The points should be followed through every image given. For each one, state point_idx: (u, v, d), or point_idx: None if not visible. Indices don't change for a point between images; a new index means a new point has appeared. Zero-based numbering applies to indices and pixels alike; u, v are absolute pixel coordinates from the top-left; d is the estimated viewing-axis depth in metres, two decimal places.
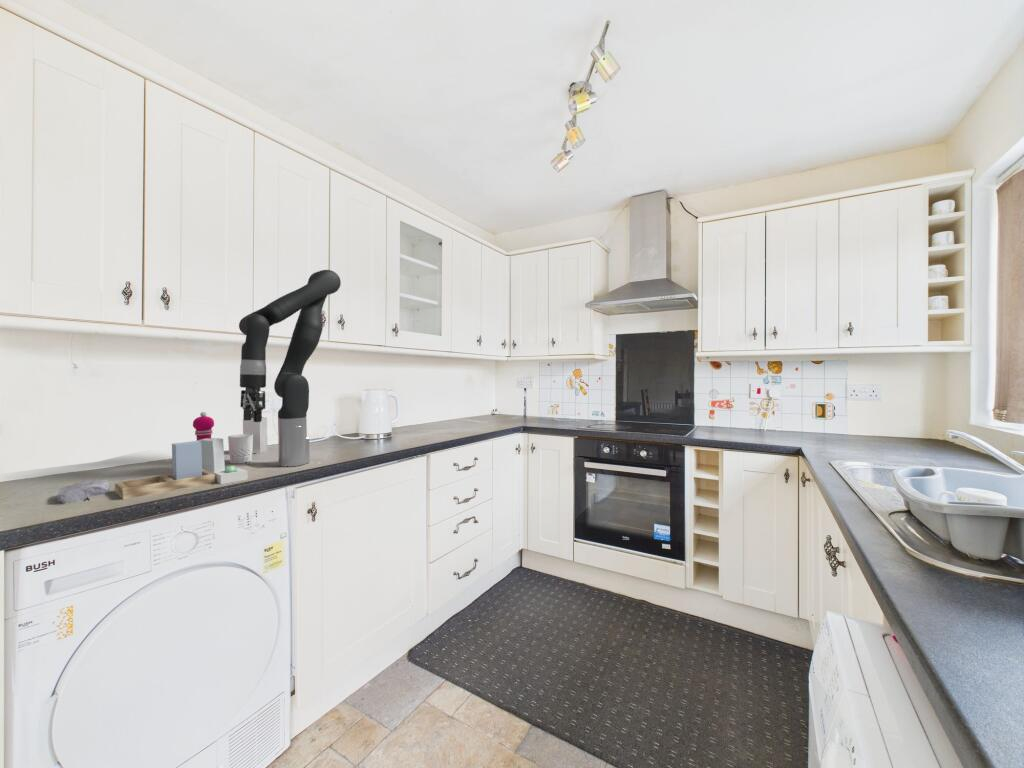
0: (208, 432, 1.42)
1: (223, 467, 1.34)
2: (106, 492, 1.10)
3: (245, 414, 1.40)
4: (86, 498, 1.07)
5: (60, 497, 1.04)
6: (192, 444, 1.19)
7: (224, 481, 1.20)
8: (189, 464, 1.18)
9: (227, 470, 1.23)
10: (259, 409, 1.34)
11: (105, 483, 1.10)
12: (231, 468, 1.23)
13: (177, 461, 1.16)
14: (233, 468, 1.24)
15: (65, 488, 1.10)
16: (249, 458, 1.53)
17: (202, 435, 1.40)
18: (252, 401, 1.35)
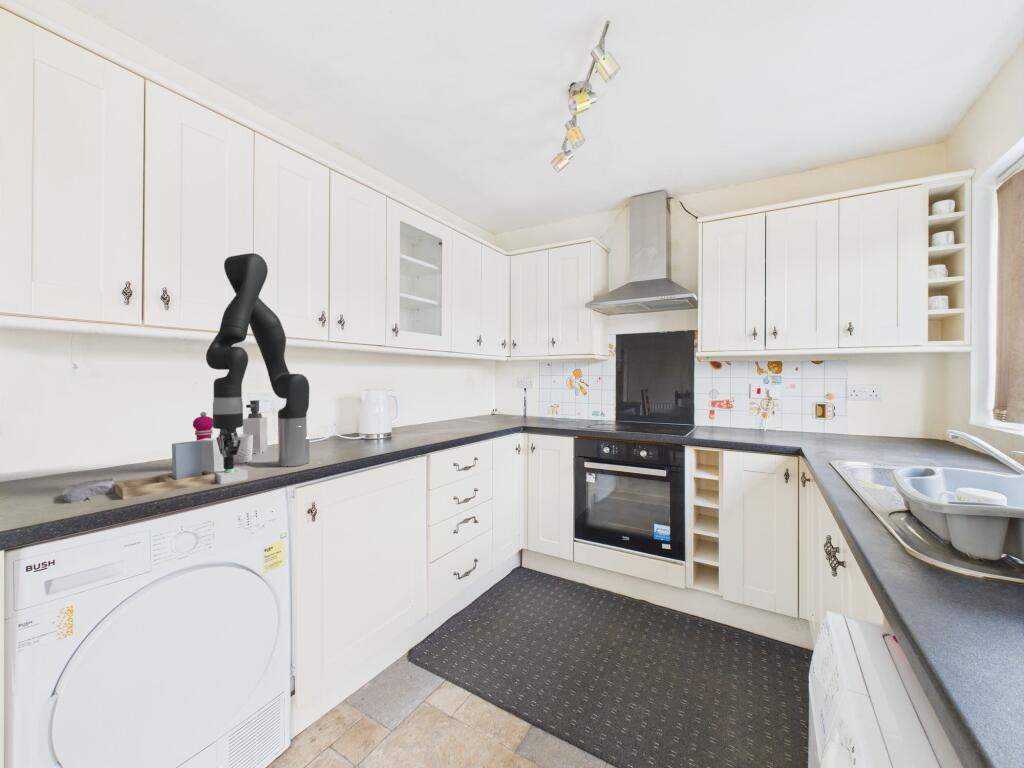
0: (208, 432, 1.42)
1: None
2: (112, 491, 1.10)
3: None
4: None
5: (67, 496, 1.05)
6: (192, 444, 1.19)
7: (224, 481, 1.20)
8: (189, 464, 1.18)
9: (227, 472, 1.23)
10: (230, 455, 1.22)
11: (111, 482, 1.11)
12: (231, 470, 1.23)
13: (177, 461, 1.16)
14: (233, 470, 1.24)
15: (71, 487, 1.11)
16: (249, 458, 1.53)
17: (202, 435, 1.40)
18: (224, 447, 1.21)
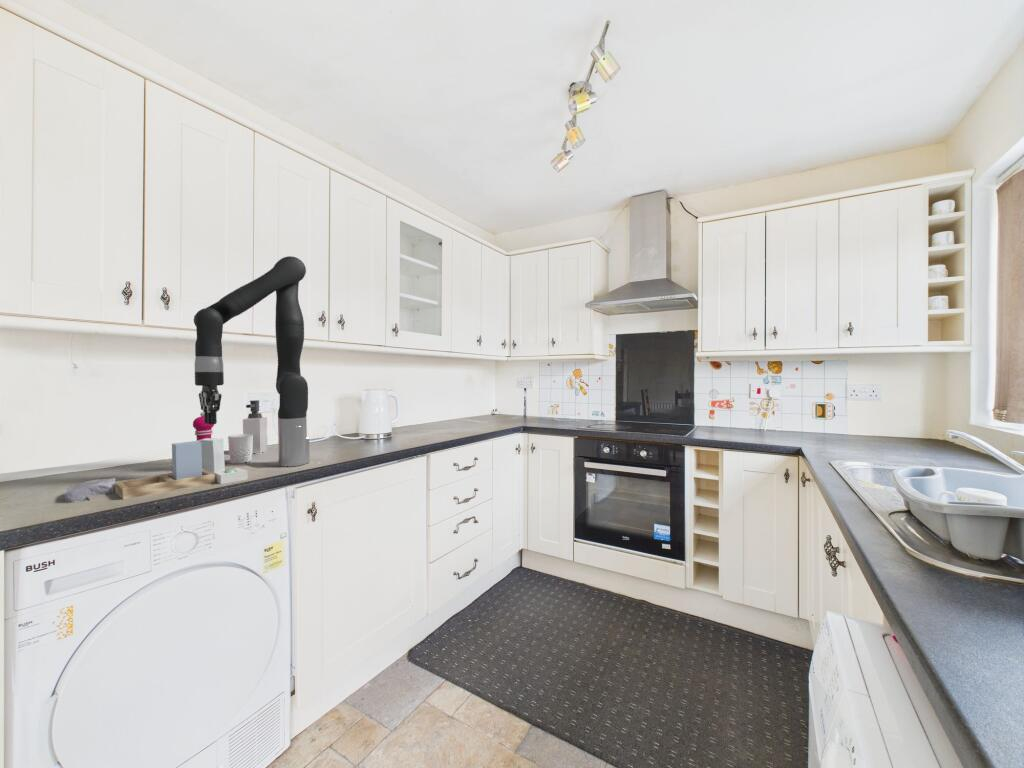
0: (208, 432, 1.42)
1: (223, 467, 1.34)
2: (112, 491, 1.10)
3: (206, 417, 1.32)
4: None
5: (67, 495, 1.05)
6: (192, 444, 1.19)
7: (224, 481, 1.20)
8: (189, 464, 1.18)
9: None
10: (213, 411, 1.30)
11: (111, 482, 1.11)
12: (231, 471, 1.23)
13: (177, 461, 1.16)
14: (233, 471, 1.24)
15: (74, 486, 1.11)
16: (249, 458, 1.53)
17: (202, 435, 1.40)
18: (207, 402, 1.29)
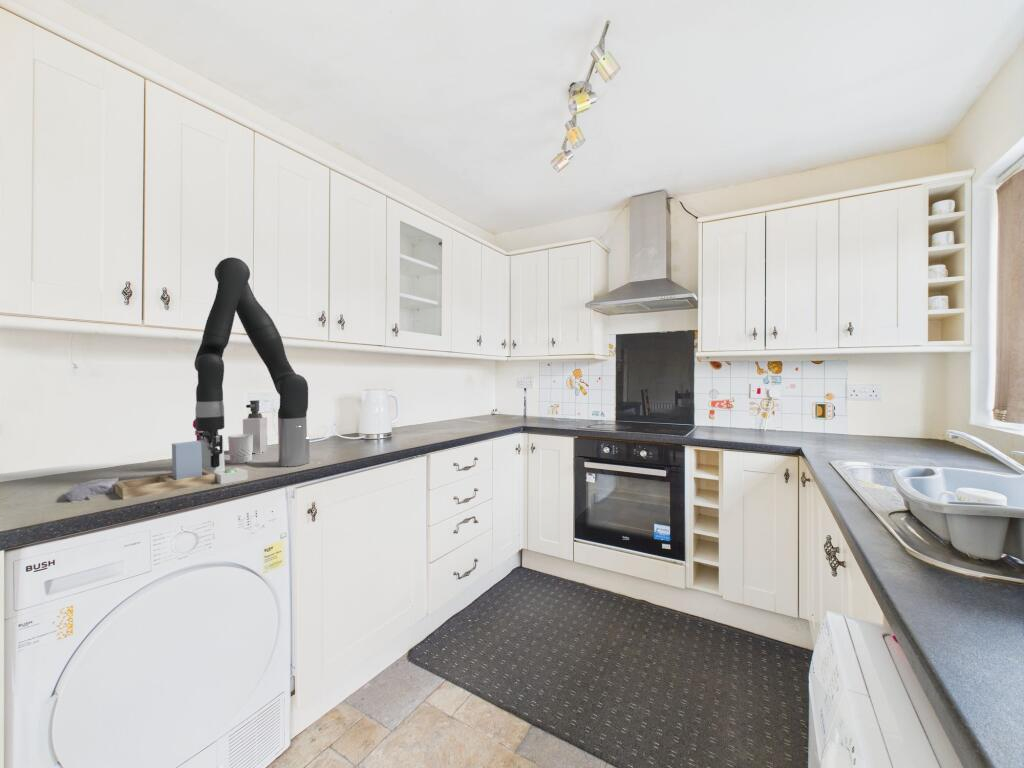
0: None
1: (223, 467, 1.34)
2: (111, 491, 1.10)
3: None
4: None
5: (67, 495, 1.06)
6: (192, 444, 1.19)
7: (224, 481, 1.20)
8: (189, 464, 1.18)
9: None
10: (216, 454, 1.29)
11: (111, 482, 1.11)
12: (231, 471, 1.23)
13: (177, 461, 1.16)
14: (233, 471, 1.24)
15: (77, 486, 1.12)
16: (249, 458, 1.53)
17: None
18: (209, 445, 1.29)
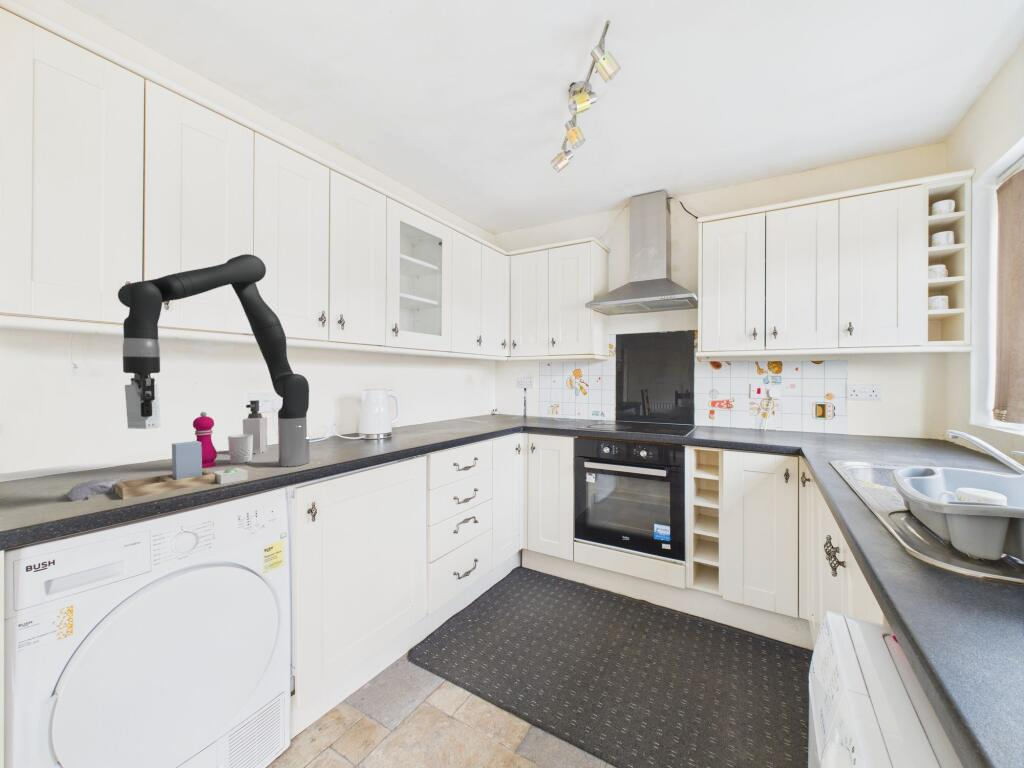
0: (208, 432, 1.42)
1: (157, 418, 1.13)
2: (112, 490, 1.11)
3: None
4: None
5: (68, 494, 1.06)
6: (192, 444, 1.19)
7: (224, 481, 1.20)
8: (189, 464, 1.18)
9: None
10: (146, 401, 1.08)
11: (112, 482, 1.12)
12: (231, 471, 1.23)
13: (177, 461, 1.16)
14: (233, 471, 1.24)
15: (80, 485, 1.13)
16: (249, 458, 1.53)
17: (202, 435, 1.40)
18: (138, 391, 1.08)
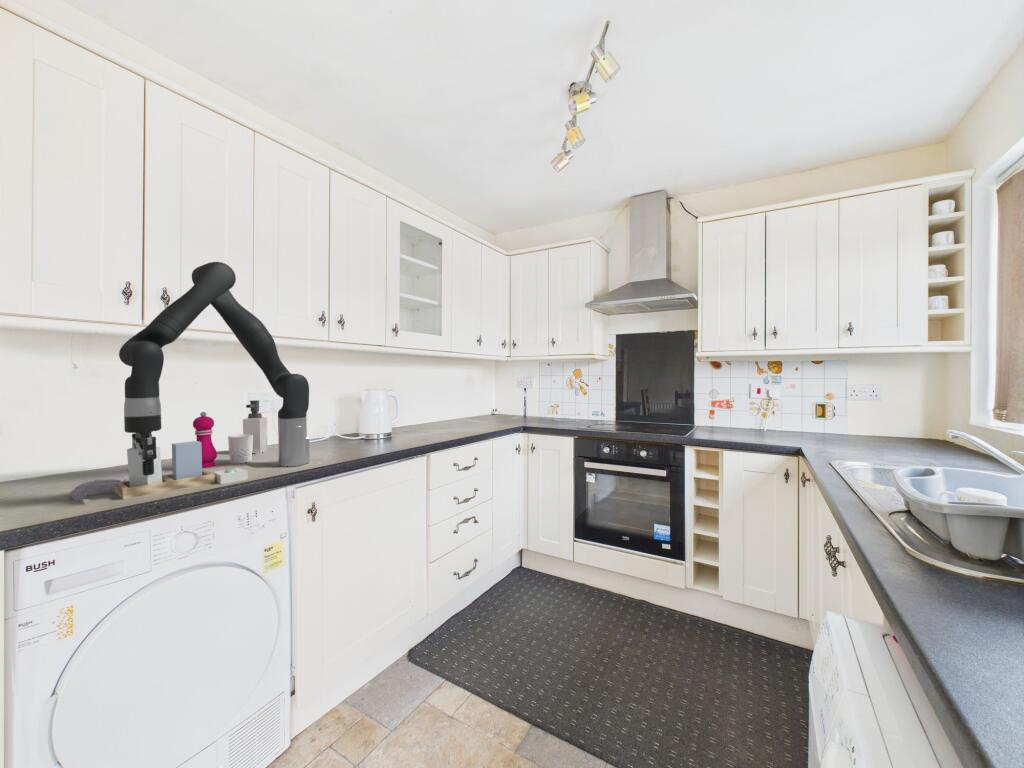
0: (208, 432, 1.42)
1: (160, 480, 1.13)
2: (113, 490, 1.11)
3: None
4: None
5: (71, 493, 1.07)
6: (192, 444, 1.19)
7: (224, 481, 1.20)
8: (189, 464, 1.18)
9: None
10: (148, 460, 1.08)
11: (114, 481, 1.12)
12: (231, 471, 1.23)
13: (177, 461, 1.16)
14: (233, 471, 1.24)
15: (85, 484, 1.14)
16: (249, 458, 1.53)
17: (202, 435, 1.40)
18: (140, 450, 1.08)
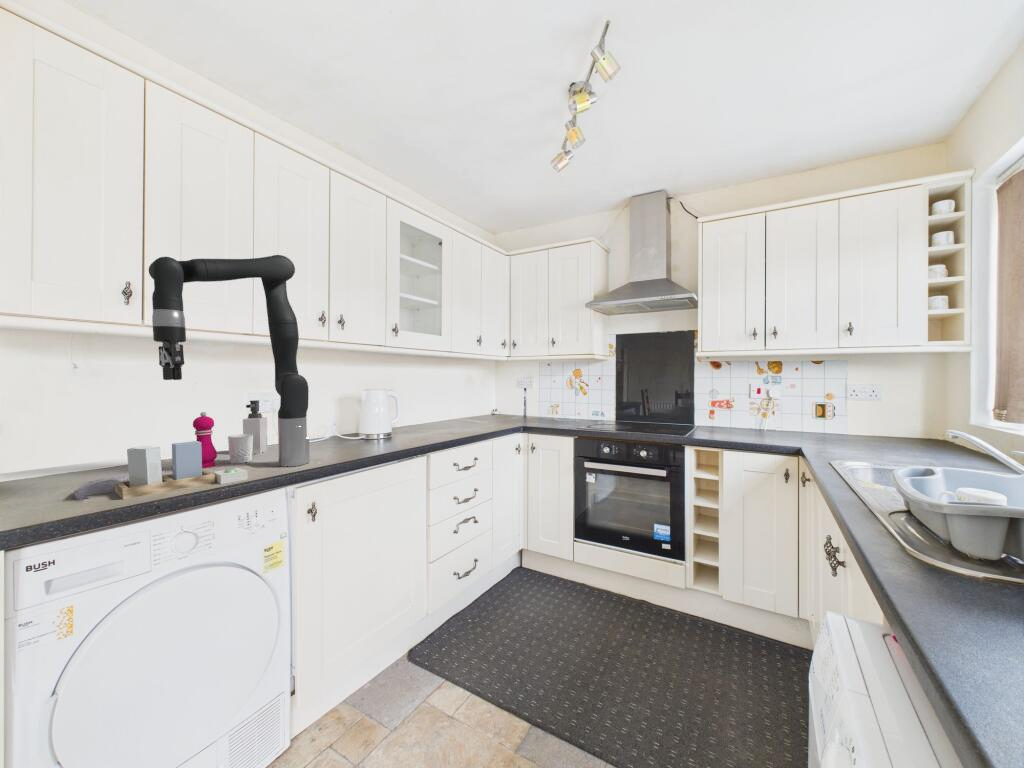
0: (208, 432, 1.42)
1: (160, 480, 1.13)
2: None
3: (165, 373, 1.24)
4: None
5: (74, 493, 1.08)
6: (192, 444, 1.19)
7: (224, 481, 1.20)
8: (189, 464, 1.18)
9: None
10: (177, 365, 1.19)
11: (117, 481, 1.13)
12: (231, 471, 1.23)
13: (177, 461, 1.16)
14: (233, 471, 1.24)
15: (87, 483, 1.14)
16: (249, 458, 1.53)
17: (202, 435, 1.40)
18: (168, 356, 1.19)
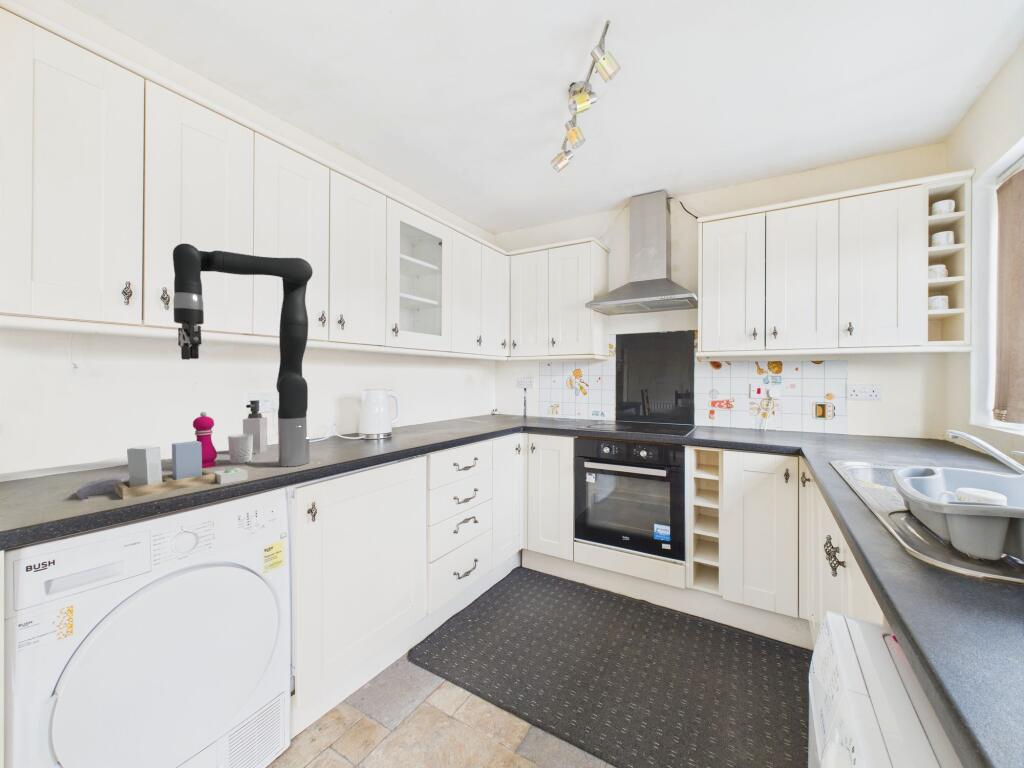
0: (208, 432, 1.42)
1: (160, 480, 1.13)
2: None
3: (183, 352, 1.33)
4: None
5: (77, 493, 1.08)
6: (192, 444, 1.19)
7: (224, 481, 1.20)
8: (189, 464, 1.18)
9: None
10: (195, 344, 1.27)
11: (120, 480, 1.13)
12: (231, 471, 1.23)
13: (177, 461, 1.16)
14: (233, 471, 1.24)
15: (89, 483, 1.15)
16: (249, 458, 1.53)
17: (202, 435, 1.40)
18: (187, 336, 1.27)
